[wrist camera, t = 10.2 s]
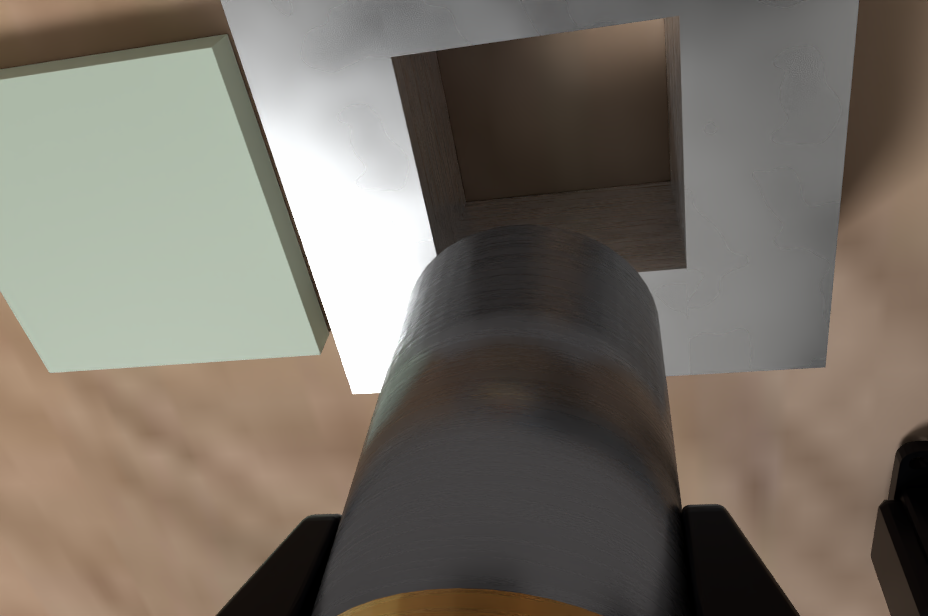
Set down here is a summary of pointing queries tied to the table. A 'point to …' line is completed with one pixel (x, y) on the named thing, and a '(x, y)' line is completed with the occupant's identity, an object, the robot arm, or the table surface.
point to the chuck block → (587, 211)
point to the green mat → (147, 214)
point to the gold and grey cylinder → (517, 444)
